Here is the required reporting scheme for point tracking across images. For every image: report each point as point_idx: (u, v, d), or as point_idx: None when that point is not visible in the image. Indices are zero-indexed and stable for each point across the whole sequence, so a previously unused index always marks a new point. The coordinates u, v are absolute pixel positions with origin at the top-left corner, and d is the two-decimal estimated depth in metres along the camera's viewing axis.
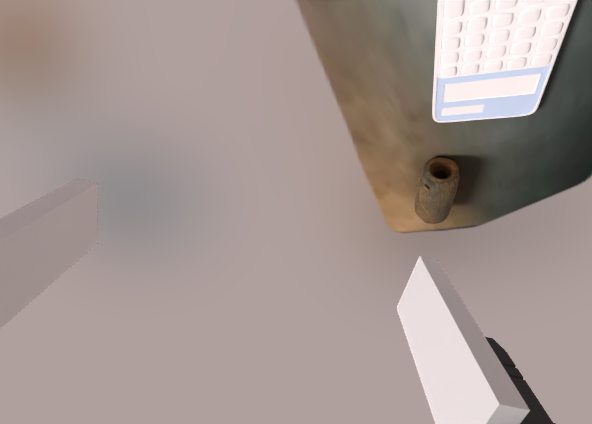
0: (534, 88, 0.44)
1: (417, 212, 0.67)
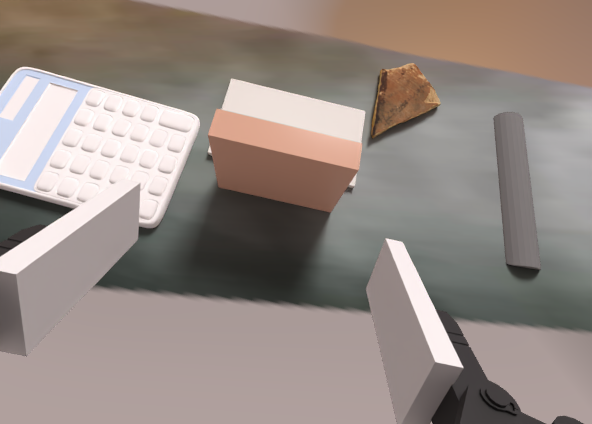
0: (0, 174, 0.33)
1: None
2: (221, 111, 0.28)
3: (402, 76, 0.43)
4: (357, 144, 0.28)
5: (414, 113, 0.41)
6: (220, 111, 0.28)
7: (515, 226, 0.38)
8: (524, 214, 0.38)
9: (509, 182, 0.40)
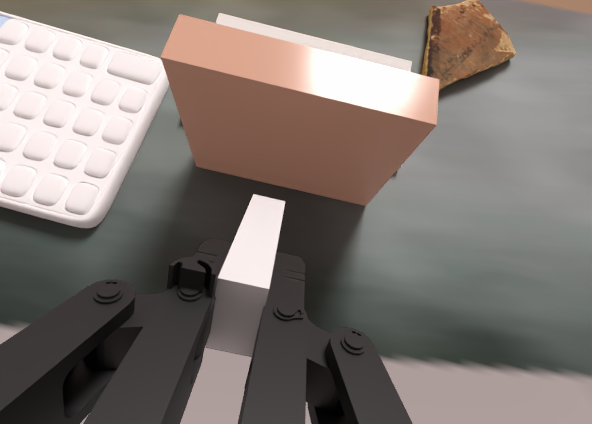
0: None
1: None
2: (187, 19, 0.15)
3: (461, 15, 0.30)
4: (430, 81, 0.16)
5: (482, 65, 0.29)
6: (186, 18, 0.15)
7: None
8: None
9: None
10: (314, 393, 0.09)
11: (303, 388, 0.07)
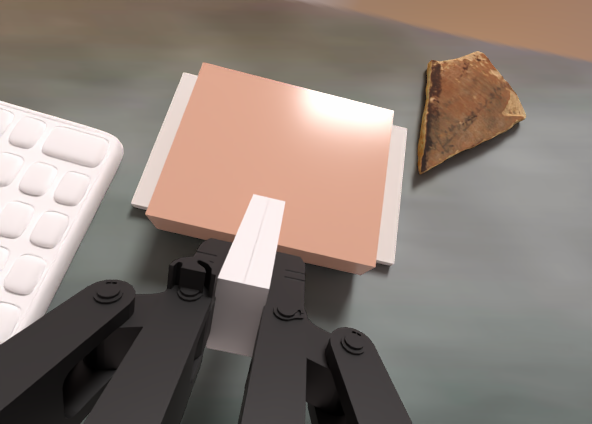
0: None
1: None
2: None
3: (465, 72, 0.26)
4: None
5: (488, 133, 0.25)
6: None
7: None
8: None
9: None
10: (313, 393, 0.09)
11: (303, 388, 0.07)
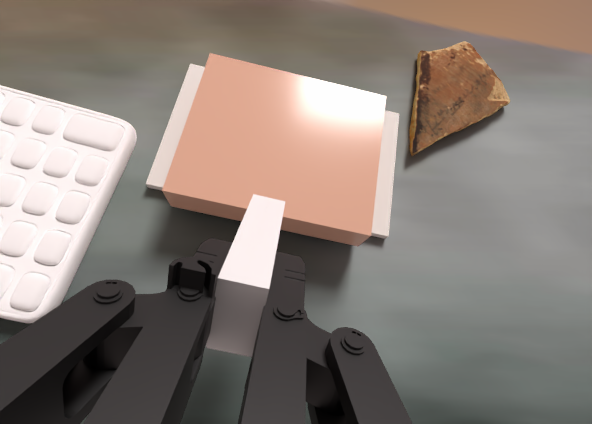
0: None
1: None
2: None
3: (452, 61, 0.28)
4: None
5: (475, 117, 0.27)
6: None
7: None
8: None
9: None
10: (314, 393, 0.09)
11: (303, 388, 0.07)
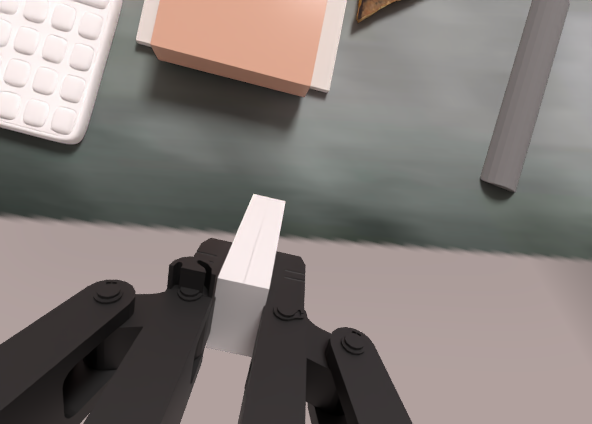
0: None
1: None
2: None
3: None
4: None
5: None
6: None
7: (505, 139, 0.32)
8: (521, 127, 0.32)
9: (519, 85, 0.33)
10: (314, 393, 0.09)
11: (303, 388, 0.07)
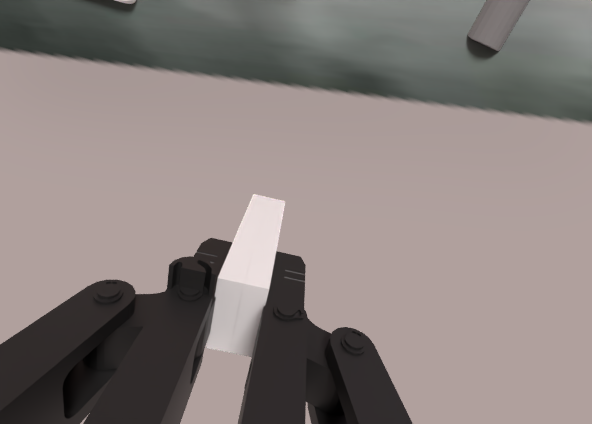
0: None
1: None
2: None
3: None
4: None
5: None
6: None
7: None
8: None
9: None
10: (313, 393, 0.09)
11: (303, 388, 0.07)
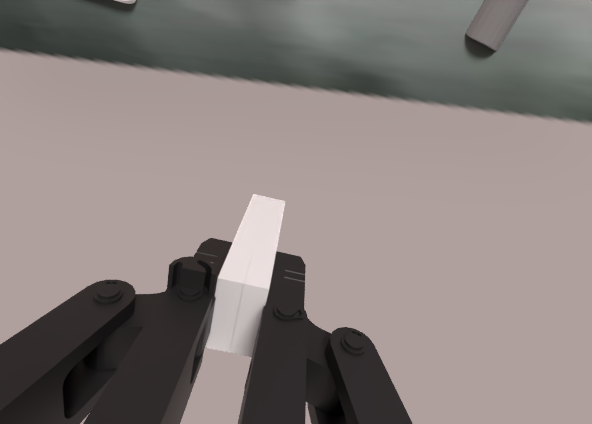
0: None
1: None
2: None
3: None
4: None
5: None
6: None
7: None
8: None
9: None
10: (314, 393, 0.09)
11: (303, 388, 0.07)
